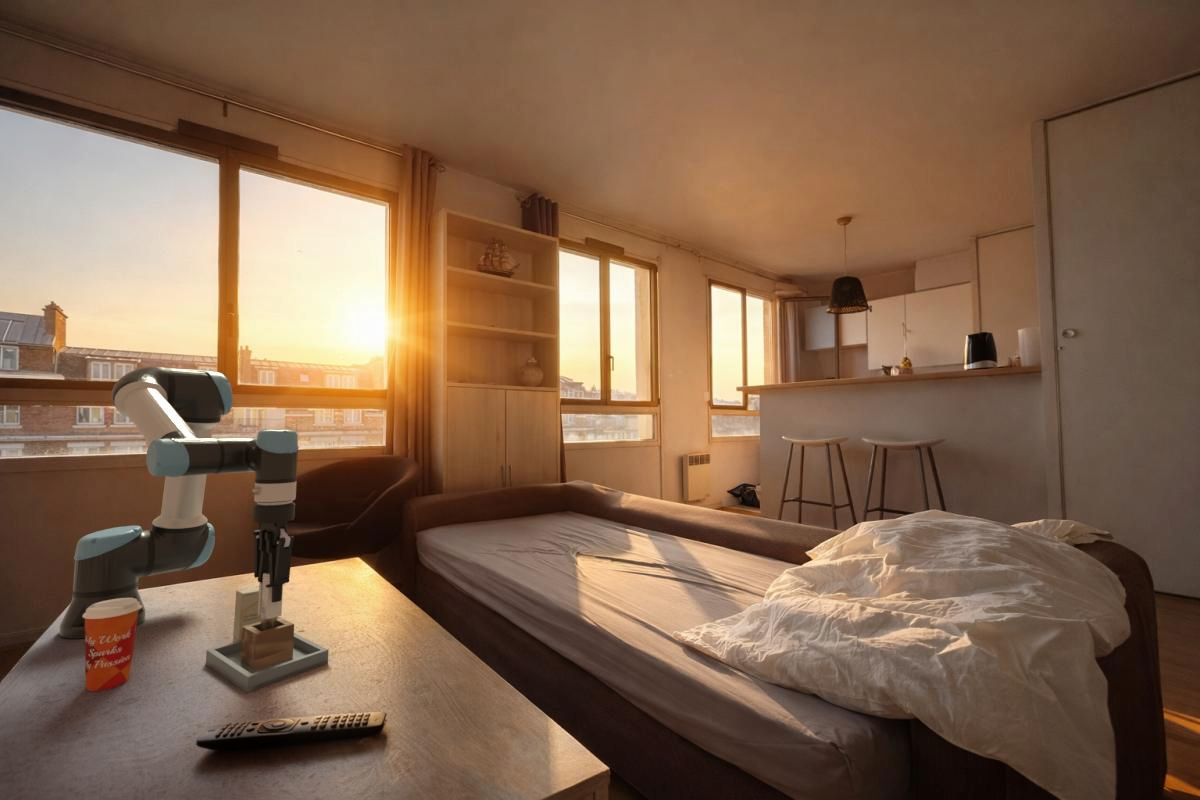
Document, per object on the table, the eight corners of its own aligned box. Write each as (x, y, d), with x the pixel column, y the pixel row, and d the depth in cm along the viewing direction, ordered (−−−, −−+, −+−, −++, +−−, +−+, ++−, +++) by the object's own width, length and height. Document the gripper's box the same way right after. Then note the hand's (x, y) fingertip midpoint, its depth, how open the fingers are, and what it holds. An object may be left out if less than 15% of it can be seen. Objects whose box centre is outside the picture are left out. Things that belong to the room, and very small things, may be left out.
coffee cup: (68, 698, 93) (74, 613, 94) (87, 678, 101) (93, 600, 101) (129, 688, 97) (134, 606, 98) (143, 669, 104) (148, 594, 105)
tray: (205, 663, 108) (206, 649, 108) (283, 640, 120) (283, 627, 120) (247, 692, 96) (248, 677, 96) (327, 663, 108) (328, 649, 109)
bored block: (240, 661, 107) (242, 626, 108) (277, 649, 113) (278, 616, 113) (255, 670, 103) (257, 634, 104) (292, 657, 109) (294, 624, 109)
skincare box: (238, 650, 114) (241, 594, 115) (231, 644, 117) (234, 590, 118) (270, 641, 119) (273, 587, 120) (263, 636, 122) (266, 584, 123)
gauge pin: (257, 641, 108) (260, 573, 109) (272, 636, 110) (275, 569, 111) (263, 644, 106) (266, 575, 107) (279, 639, 109) (282, 572, 109)
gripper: (238, 500, 111) (233, 612, 110) (273, 508, 102) (267, 629, 101) (276, 497, 118) (271, 602, 116) (311, 503, 108) (307, 618, 107)
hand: (269, 614), depth 108 cm, fingers closed on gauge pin, 3 cm apart
